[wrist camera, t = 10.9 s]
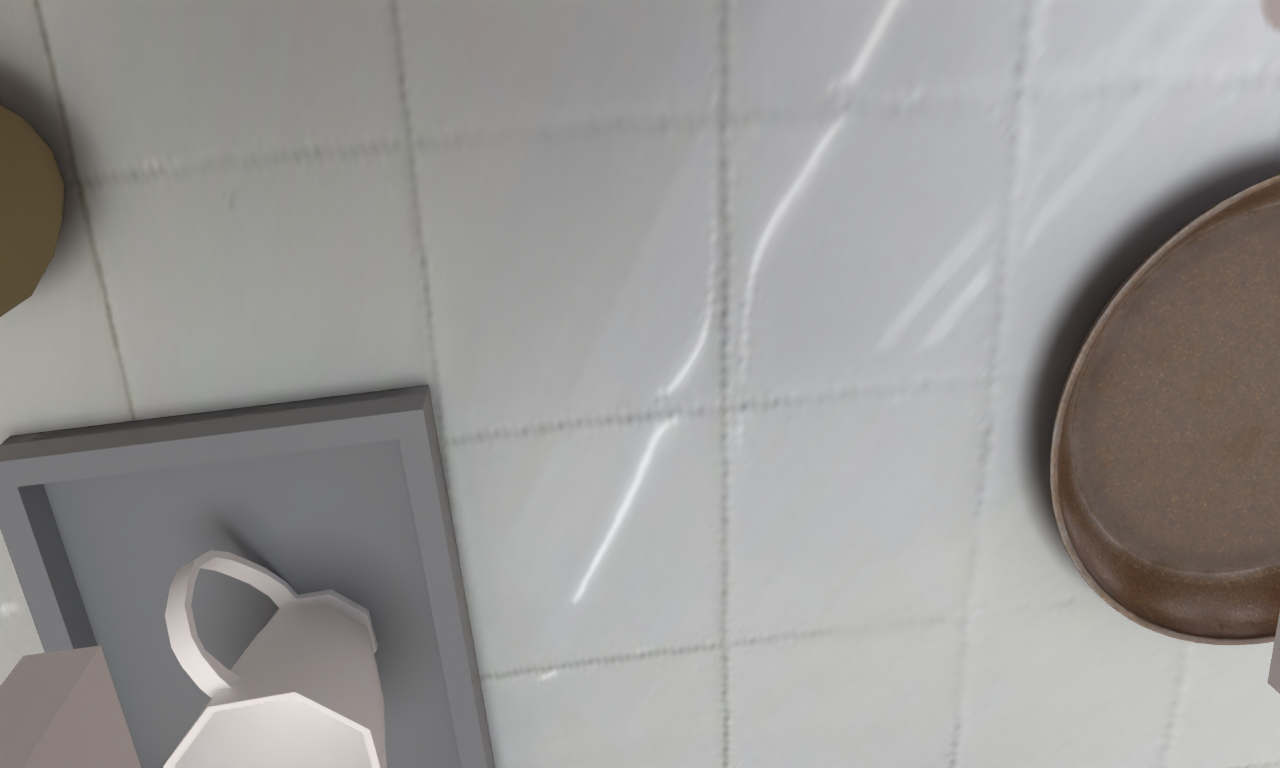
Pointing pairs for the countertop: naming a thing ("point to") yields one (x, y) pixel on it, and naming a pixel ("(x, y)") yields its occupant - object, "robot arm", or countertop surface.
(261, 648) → the cup
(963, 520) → the countertop surface
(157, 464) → the tray
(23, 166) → the squeeze bottle
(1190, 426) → the plant saucer
